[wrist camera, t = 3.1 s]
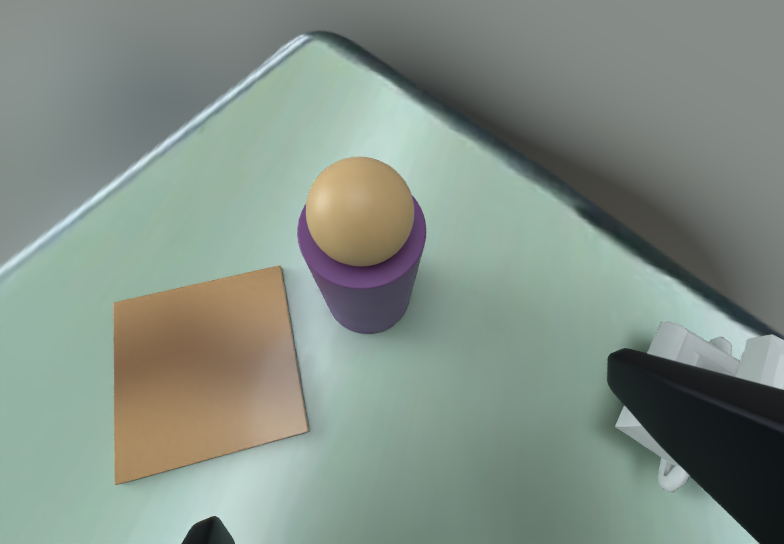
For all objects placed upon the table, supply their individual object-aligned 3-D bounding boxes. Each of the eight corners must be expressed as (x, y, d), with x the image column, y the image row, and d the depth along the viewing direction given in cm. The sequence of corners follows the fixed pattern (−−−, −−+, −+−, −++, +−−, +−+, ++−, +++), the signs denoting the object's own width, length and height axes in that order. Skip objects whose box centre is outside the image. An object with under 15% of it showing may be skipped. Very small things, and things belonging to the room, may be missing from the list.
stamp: (695, 521, 20) (907, 597, 12) (580, 444, 21) (703, 466, 13) (742, 375, 22) (940, 357, 14) (638, 314, 24) (769, 266, 16)
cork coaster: (309, 431, 21) (308, 431, 20) (119, 484, 19) (114, 485, 19) (281, 267, 24) (280, 265, 23) (117, 304, 23) (113, 302, 22)
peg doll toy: (419, 322, 23) (458, 235, 11) (336, 343, 22) (290, 274, 11) (397, 247, 25) (413, 106, 13) (319, 264, 24) (265, 133, 13)
